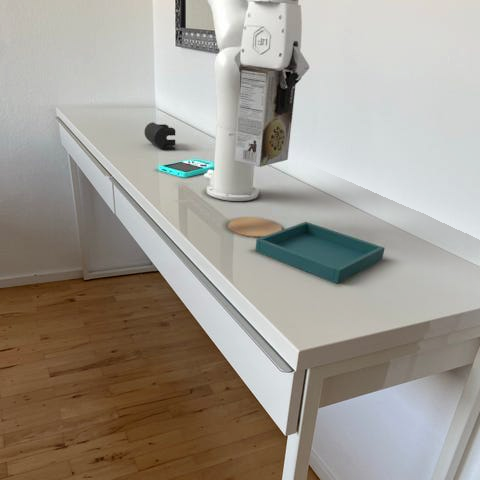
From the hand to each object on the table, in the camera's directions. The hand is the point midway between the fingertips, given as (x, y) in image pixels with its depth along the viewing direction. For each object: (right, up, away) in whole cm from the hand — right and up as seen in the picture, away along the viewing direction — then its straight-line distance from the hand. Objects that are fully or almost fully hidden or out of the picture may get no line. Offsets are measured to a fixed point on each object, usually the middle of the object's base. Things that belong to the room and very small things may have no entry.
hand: (266, 108), depth 92 cm
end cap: (-31, +18, +72) cm, 80 cm away
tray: (+10, -27, +1) cm, 28 cm away
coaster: (-2, -20, +11) cm, 23 cm away
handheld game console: (-19, +3, +49) cm, 53 cm away
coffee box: (-1, -8, +5) cm, 9 cm away
